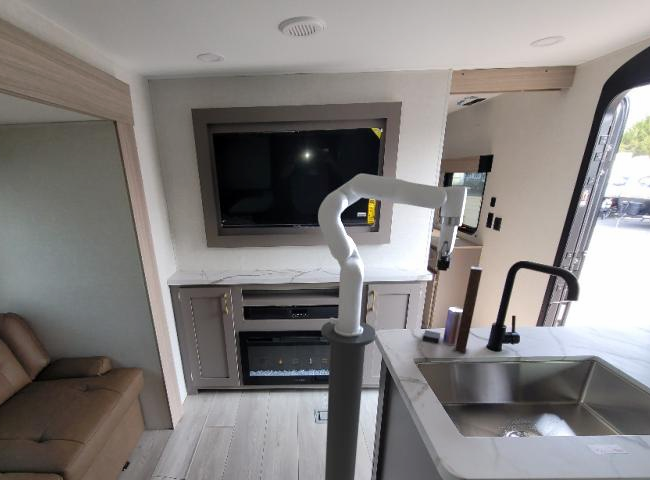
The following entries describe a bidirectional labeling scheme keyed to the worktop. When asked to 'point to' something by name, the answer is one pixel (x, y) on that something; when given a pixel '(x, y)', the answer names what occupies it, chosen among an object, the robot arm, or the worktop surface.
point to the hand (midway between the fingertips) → (443, 268)
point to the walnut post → (468, 308)
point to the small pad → (448, 262)
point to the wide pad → (431, 336)
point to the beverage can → (452, 325)
